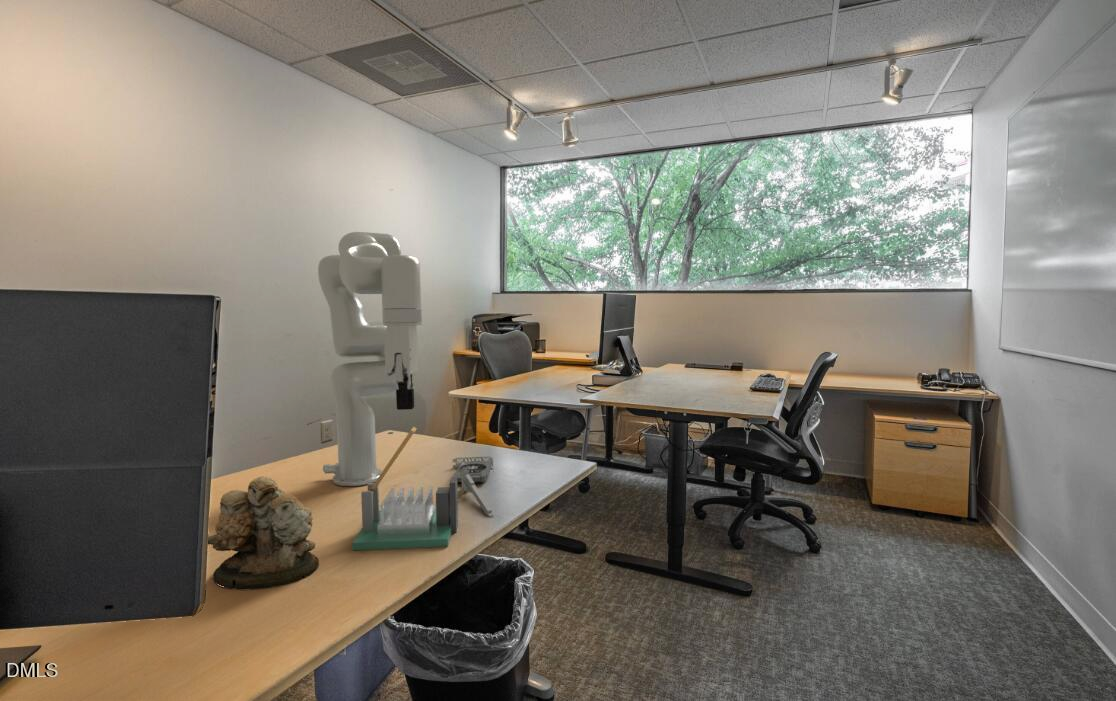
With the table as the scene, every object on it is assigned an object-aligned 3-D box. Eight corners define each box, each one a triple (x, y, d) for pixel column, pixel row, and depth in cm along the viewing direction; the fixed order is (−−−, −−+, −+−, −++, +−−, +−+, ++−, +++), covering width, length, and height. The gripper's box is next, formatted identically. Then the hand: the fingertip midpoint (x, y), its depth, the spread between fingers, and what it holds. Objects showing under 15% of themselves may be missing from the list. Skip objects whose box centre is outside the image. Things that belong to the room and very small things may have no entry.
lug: (436, 533, 109) (435, 483, 108) (439, 525, 112) (437, 477, 111) (456, 532, 109) (455, 482, 108) (458, 525, 113) (457, 477, 112)
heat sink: (377, 535, 104) (376, 505, 104) (389, 515, 114) (388, 488, 114) (429, 533, 105) (428, 503, 105) (436, 513, 115) (435, 486, 115)
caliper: (461, 490, 135) (461, 466, 134) (465, 489, 135) (465, 465, 135) (489, 518, 117) (489, 491, 116) (494, 517, 117) (493, 490, 117)
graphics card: (453, 456, 153) (494, 455, 153) (453, 469, 154) (495, 467, 154) (440, 475, 137) (487, 474, 137) (441, 489, 137) (487, 488, 137)
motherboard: (352, 550, 101) (350, 502, 100) (374, 517, 117) (372, 475, 116) (447, 546, 103) (446, 498, 102) (456, 513, 119) (455, 472, 118)
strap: (369, 499, 107) (363, 496, 107) (372, 494, 110) (368, 491, 110) (415, 432, 107) (410, 429, 107) (417, 429, 110) (412, 426, 110)
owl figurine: (191, 595, 86) (184, 493, 85) (225, 561, 98) (219, 471, 96) (308, 585, 89) (303, 486, 87) (328, 553, 100) (323, 465, 99)
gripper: (391, 318, 113) (394, 403, 114) (373, 318, 98) (377, 416, 100) (427, 317, 114) (430, 402, 115) (414, 318, 99) (418, 415, 100)
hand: (405, 408), depth 107 cm, fingers closed
